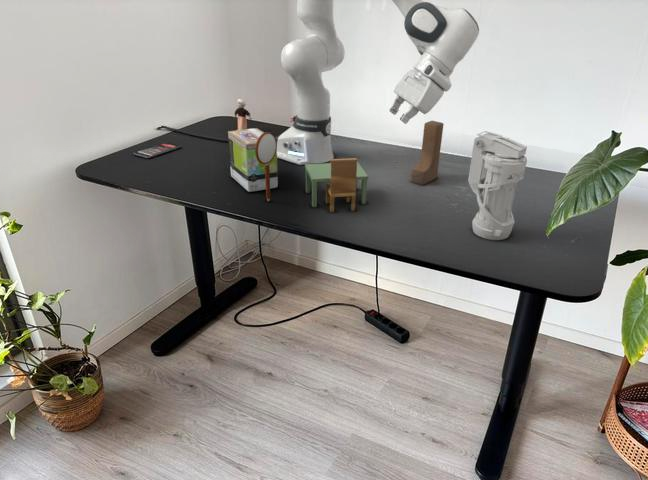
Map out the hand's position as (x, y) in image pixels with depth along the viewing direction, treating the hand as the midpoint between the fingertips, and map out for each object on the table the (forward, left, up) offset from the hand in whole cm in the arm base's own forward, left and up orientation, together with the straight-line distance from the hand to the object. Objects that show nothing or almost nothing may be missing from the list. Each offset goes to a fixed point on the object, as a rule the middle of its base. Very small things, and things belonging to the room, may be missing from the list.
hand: (397, 117), depth 142 cm
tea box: (-44, -5, -26) cm, 51 cm away
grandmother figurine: (-78, +36, -26) cm, 89 cm away
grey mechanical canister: (+28, -1, -26) cm, 38 cm away
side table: (-16, -3, -25) cm, 30 cm away
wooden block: (+1, +25, -26) cm, 36 cm away
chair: (-12, -7, -25) cm, 29 cm away
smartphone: (-89, +1, -25) cm, 92 cm away
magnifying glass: (-32, -15, -26) cm, 43 cm away
